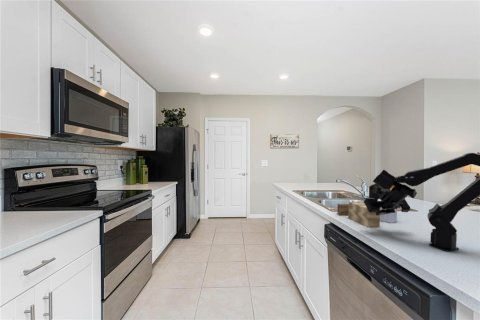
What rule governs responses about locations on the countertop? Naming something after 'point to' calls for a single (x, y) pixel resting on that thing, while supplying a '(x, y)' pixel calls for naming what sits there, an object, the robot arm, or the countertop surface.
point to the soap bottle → (389, 215)
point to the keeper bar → (363, 215)
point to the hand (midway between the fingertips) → (376, 214)
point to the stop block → (343, 209)
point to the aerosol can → (371, 193)
